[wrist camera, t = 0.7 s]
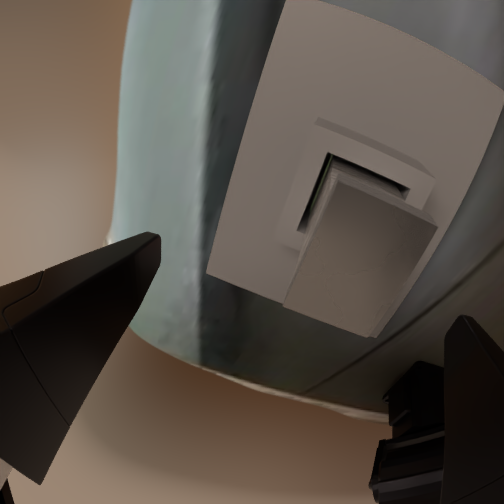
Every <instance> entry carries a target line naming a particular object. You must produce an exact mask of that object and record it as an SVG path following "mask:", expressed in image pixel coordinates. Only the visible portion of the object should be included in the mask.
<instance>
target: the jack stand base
mask: <svg viewBox="0 0 504 504" xmlns="http://www.w3.org/2000/svg"><path fill="white" fill-rule="evenodd" d="M503 104H504V91H503V90H502V89H500V88H499V87H498V86H496V85H495V84H493V83H492V82H490V81H489V80H488V79H486V78H485V77H483V76H482V75H480V74H479V73H477V72H475V71H474V70H472V69H471V68H469V67H468V66H466V65H464V64H463V63H461V62H459V61H458V60H456V59H454V58H453V57H451V56H449V55H447V54H446V53H444V52H442V51H440V50H438V49H437V48H435V47H433V46H431V45H429V44H427V43H425V42H423V41H421V40H419V39H417V38H415V37H413V36H411V35H409V34H407V33H404V32H402V31H400V30H398V29H396V28H393V27H391V26H389V25H386V24H384V23H382V22H379V21H377V20H374V19H372V18H369V17H366V16H364V15H361V14H358V13H356V12H353V11H350V10H347V9H344V8H341V7H338V6H335V5H332V4H329V3H325V2H322V1H319V0H286V2H285V5H284V8H283V11H282V14H281V17H280V20H279V23H278V26H277V29H276V32H275V35H274V38H273V41H272V44H271V47H270V50H269V53H268V56H267V59H266V62H265V65H264V69H263V72H262V75H261V78H260V81H259V84H258V88H257V91H256V94H255V97H254V101H253V104H252V107H251V111H250V114H249V117H248V121H247V124H246V127H245V131H244V134H243V138H242V141H241V144H240V148H239V151H238V155H237V158H236V162H235V165H234V169H233V173H232V176H231V180H230V183H229V187H228V191H227V194H226V198H225V202H224V205H223V209H222V213H221V216H220V220H219V224H218V228H217V232H216V235H215V239H214V243H213V247H212V251H211V255H210V259H209V263H208V267H207V271H206V273H207V274H209V275H212V276H214V277H217V278H219V279H222V280H224V281H226V282H229V283H231V284H234V285H236V286H239V287H241V288H244V289H246V290H249V291H251V292H254V293H256V294H259V295H261V296H264V297H266V298H269V299H272V300H274V301H277V302H279V303H282V304H283V303H284V300H285V296H286V293H287V290H288V288H289V286H290V283H291V281H292V279H293V277H294V274H295V270H296V266H297V262H298V259H299V255H300V251H301V247H302V243H303V239H304V235H305V231H306V227H307V223H308V219H309V215H310V207H311V204H312V201H313V199H314V196H315V194H316V191H317V189H318V186H319V184H320V181H321V179H322V176H323V173H324V171H325V168H326V166H327V163H328V161H329V158H330V155H331V154H334V155H336V156H339V157H341V158H344V159H346V160H348V161H351V162H353V163H356V164H358V165H360V166H362V167H365V168H367V169H369V170H372V171H374V172H376V173H378V174H380V175H383V176H385V177H387V178H389V179H391V180H393V181H394V182H395V184H396V186H397V188H398V190H399V192H400V193H401V195H402V197H403V199H404V201H405V203H407V204H409V205H412V206H414V207H416V208H418V209H420V210H422V211H424V212H426V213H428V214H430V215H431V216H432V218H433V219H434V221H435V223H436V224H437V226H438V229H437V231H436V232H435V234H434V236H433V238H432V239H431V241H430V243H429V245H428V246H427V248H426V250H425V252H424V253H423V255H422V257H421V258H420V260H419V262H418V263H417V265H416V267H415V268H414V270H413V271H412V273H411V275H410V276H409V278H408V279H407V281H406V283H405V284H404V286H403V287H402V289H401V290H400V292H399V293H398V295H397V296H396V298H395V299H394V301H393V302H392V304H391V305H390V307H389V308H388V310H387V311H386V313H385V314H384V316H383V317H382V318H381V320H380V321H379V323H378V324H377V325H376V327H375V328H374V330H373V331H372V332H371V334H370V335H369V336H370V337H373V338H377V336H378V335H379V334H380V332H381V331H382V330H383V328H384V327H385V326H386V324H387V323H388V321H389V320H390V319H391V317H392V316H393V314H394V313H395V312H396V310H397V309H398V307H399V306H400V304H401V303H402V301H403V300H404V299H405V297H406V296H407V294H408V293H409V291H410V290H411V288H412V287H413V285H414V283H415V282H416V280H417V279H418V277H419V276H420V274H421V272H422V271H423V269H424V268H425V266H426V264H427V263H428V261H429V260H430V258H431V256H432V255H433V253H434V251H435V250H436V248H437V246H438V244H439V243H440V241H441V239H442V237H443V236H444V234H445V232H446V230H447V229H448V227H449V225H450V223H451V221H452V219H453V218H454V216H455V214H456V212H457V210H458V208H459V206H460V204H461V202H462V200H463V198H464V196H465V194H466V192H467V190H468V188H469V186H470V184H471V182H472V180H473V178H474V176H475V173H476V171H477V169H478V167H479V165H480V162H481V160H482V158H483V156H484V153H485V151H486V149H487V146H488V144H489V141H490V139H491V136H492V134H493V131H494V129H495V126H496V124H497V121H498V118H499V115H500V113H501V110H502V107H503Z"/></svg>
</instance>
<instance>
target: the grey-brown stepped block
mask: <svg viewBox="0 0 504 504" xmlns="http://www.w3.org/2000/svg"><path fill="white" fill-rule="evenodd" d="M437 229H438V226H437V224H436V223H435V221H434V219H433V218H432V216H431V215H430V214H428V213H426V212H424V211H422V210H420V209H418V208H416V207H414V206H412V205H409V204H407V203H405V201H404V199H403V197H402V195H401V193H400V192H399V190H398V188H397V186H396V184H395V182H394V181H393V180H391V179H389V178H387V177H385V176H383V175H380V174H378V173H376V172H374V171H372V170H369V169H367V168H365V167H362V166H360V165H358V164H356V163H353V162H351V161H348V160H346V159H344V158H341V157H339V156H336V155H334V154H331V155H330V158H329V161H328V163H327V166H326V168H325V171H324V173H323V176H322V179H321V181H320V184H319V186H318V189H317V191H316V194H315V196H314V199H313V201H312V204H311V207H310V215H309V219H308V223H307V227H306V231H305V235H304V239H303V243H302V247H301V251H300V255H299V259H298V262H297V266H296V270H295V274H294V277H293V279H292V281H291V283H290V286H289V288H288V290H287V293H286V296H285V300H284V303H283V307H285V308H288V309H291V310H293V311H296V312H298V313H301V314H304V315H306V316H309V317H312V318H314V319H317V320H320V321H322V322H325V323H328V324H330V325H333V326H336V327H338V328H341V329H344V330H347V331H349V332H352V333H355V334H358V335H360V336H363V337H366V338H368V336H369V335H370V334H371V332H372V331H373V330H374V328H375V327H376V325H377V324H378V323H379V321H380V320H381V318H382V317H383V316H384V314H385V313H386V311H387V310H388V308H389V307H390V305H391V304H392V302H393V301H394V299H395V298H396V296H397V295H398V293H399V292H400V290H401V289H402V287H403V286H404V284H405V283H406V281H407V279H408V278H409V276H410V275H411V273H412V271H413V270H414V268H415V267H416V265H417V263H418V262H419V260H420V258H421V257H422V255H423V253H424V252H425V250H426V248H427V246H428V245H429V243H430V241H431V239H432V238H433V236H434V234H435V232H436V231H437Z"/></svg>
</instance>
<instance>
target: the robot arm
mask: <svg viewBox="0 0 504 504" xmlns="http://www.w3.org/2000/svg"><path fill="white" fill-rule="evenodd" d="M160 263H161V237H160V236H159V235H158V234H155V233H151V232H144V233H141V234H138V235H135V236H133V237H130V238H127V239H124V240H121V241H119V242H116V243H113V244H110V245H108V246H105V247H102V248H100V249H97V250H94V251H92V252H89V253H86V254H84V255H81V256H78V257H76V258H73V259H70V260H68V261H65V262H63V263H60V264H58V265H55V266H53V267H50V268H48V269H45V271H40V272H38V273H35V274H33V275H30V276H28V277H25V278H23V279H20V280H18V281H15V282H12V283H9V284H6V285H3V286H1V287H0V504H14V501H13V497H12V494H11V490H10V487H9V483H8V479H7V477H8V475H9V473H10V472H11V470H12V468H15V469H16V470H17V471H19V472H20V473H22V474H23V475H25V476H26V477H28V478H29V479H31V480H32V481H34V482H35V483H37V484H38V485H41V483H42V482H43V480H44V478H45V475H46V474H47V472H48V469H49V467H50V465H51V463H52V461H53V459H54V457H55V455H56V453H57V451H58V450H59V448H60V446H61V443H62V441H63V440H64V438H65V436H66V434H67V432H68V430H69V428H70V427H69V426H70V425H71V424H72V422H73V420H74V419H75V417H76V415H77V413H78V411H79V409H80V407H81V405H82V404H83V402H84V400H85V398H86V397H87V395H88V393H89V391H90V390H91V388H92V386H93V384H94V383H95V381H96V379H97V377H98V375H99V374H100V372H101V370H102V368H103V367H104V365H105V364H106V362H107V360H108V358H109V357H110V355H111V353H112V352H113V350H114V348H115V347H116V345H117V343H118V342H119V340H120V338H121V336H122V335H123V333H124V332H125V330H126V329H127V327H128V325H129V324H130V322H131V320H132V319H133V317H134V316H135V314H136V312H137V311H138V309H139V307H140V305H141V303H142V301H143V299H144V297H145V295H146V293H147V291H148V289H149V287H150V285H151V282H152V280H153V278H154V276H155V274H156V272H157V270H158V268H159V266H160ZM383 402H384V403H387V404H389V425H390V426H392V439H388V440H386V439H383V440H380V441H379V446H378V448H377V451H376V457H375V461H374V466H373V471H372V475H371V479H370V482H369V488H370V489H371V490H372V491H373V496H374V499H375V502H376V503H379V504H504V352H503V351H502V349H501V348H500V347H499V346H498V345H497V344H496V343H495V342H494V340H493V339H492V338H491V337H490V336H489V335H488V334H487V333H486V332H485V330H484V329H483V328H482V327H481V326H480V325H479V324H478V323H477V322H476V321H475V320H474V319H473V318H472V317H471V316H467V315H460V316H458V318H457V319H456V320H455V322H454V323H453V325H452V326H451V327H450V329H449V330H448V332H447V333H446V336H445V340H444V368H442V367H439V366H435V365H432V364H429V363H426V362H423V361H418V362H416V363H415V364H414V365H413V366H412V367H411V368H410V370H409V371H408V372H407V373H406V374H405V375H404V376H403V377H402V378H401V379H400V380H399V381H398V382H397V383H396V384H395V385H394V386H393V387H392V388H391V389H390V390H389V391H388V392H387V393H386V394H385V395H384V396H383Z"/></svg>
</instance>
